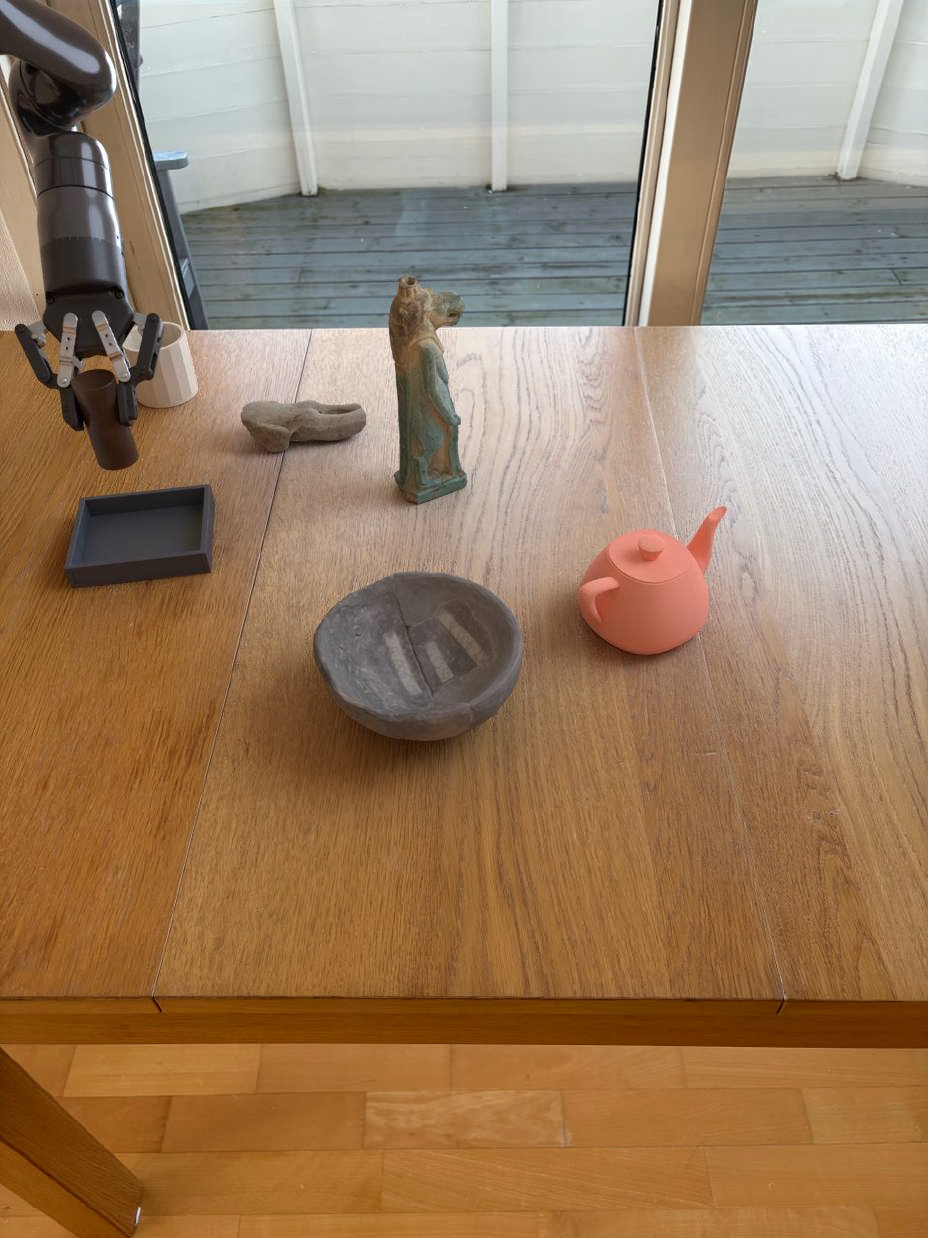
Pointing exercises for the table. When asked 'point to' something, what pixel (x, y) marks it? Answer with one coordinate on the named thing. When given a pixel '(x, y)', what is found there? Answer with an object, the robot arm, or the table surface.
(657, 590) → the teapot
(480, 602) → the bowl
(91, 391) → the walnut peg
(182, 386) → the cup
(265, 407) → the sculpture
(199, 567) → the tray
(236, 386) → the table surface
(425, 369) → the statue
